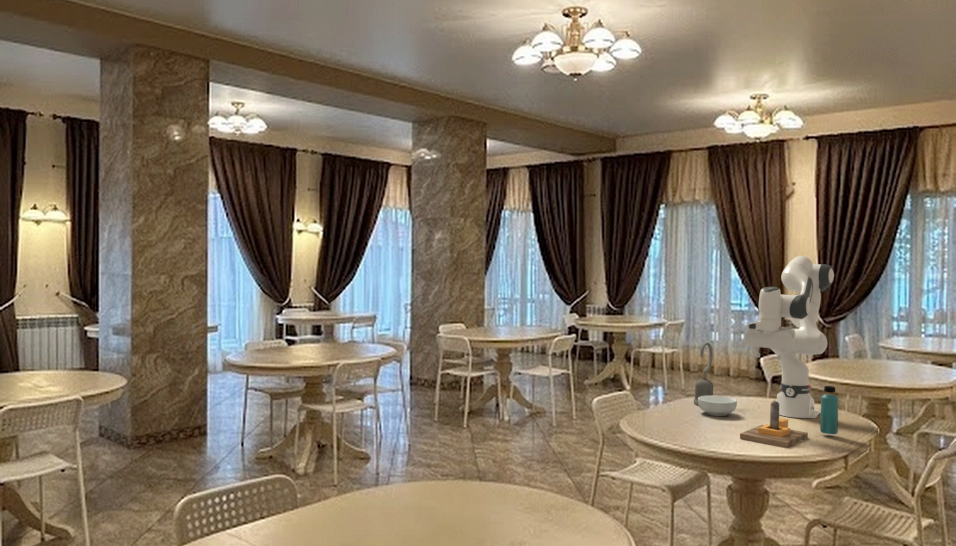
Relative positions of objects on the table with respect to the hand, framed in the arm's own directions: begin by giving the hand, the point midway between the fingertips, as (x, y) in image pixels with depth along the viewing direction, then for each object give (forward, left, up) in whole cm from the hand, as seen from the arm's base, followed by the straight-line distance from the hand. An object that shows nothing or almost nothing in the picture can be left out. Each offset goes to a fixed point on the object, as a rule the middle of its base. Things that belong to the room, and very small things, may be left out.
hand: (768, 358), depth 301 cm
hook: (-24, -39, -29) cm, 54 cm away
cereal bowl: (-7, -25, -29) cm, 39 cm away
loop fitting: (+15, +10, -27) cm, 32 cm away
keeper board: (+18, +10, -29) cm, 35 cm away
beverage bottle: (-2, +24, -29) cm, 37 cm away
